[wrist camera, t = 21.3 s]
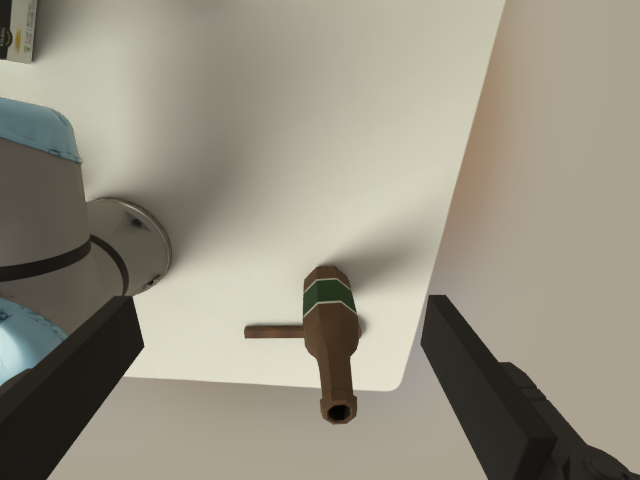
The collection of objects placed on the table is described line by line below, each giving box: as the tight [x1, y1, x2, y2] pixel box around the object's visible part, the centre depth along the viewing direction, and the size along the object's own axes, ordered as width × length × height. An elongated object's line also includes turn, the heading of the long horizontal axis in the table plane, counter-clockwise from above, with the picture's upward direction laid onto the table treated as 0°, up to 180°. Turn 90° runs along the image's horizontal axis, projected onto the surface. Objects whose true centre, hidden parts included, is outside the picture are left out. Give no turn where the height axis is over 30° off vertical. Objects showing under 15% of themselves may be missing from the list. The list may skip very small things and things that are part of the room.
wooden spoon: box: [244, 323, 361, 339], centre depth 53 cm, size 20×6×1 cm, turn 89°
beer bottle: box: [303, 266, 359, 424], centre depth 39 cm, size 8×8×24 cm
